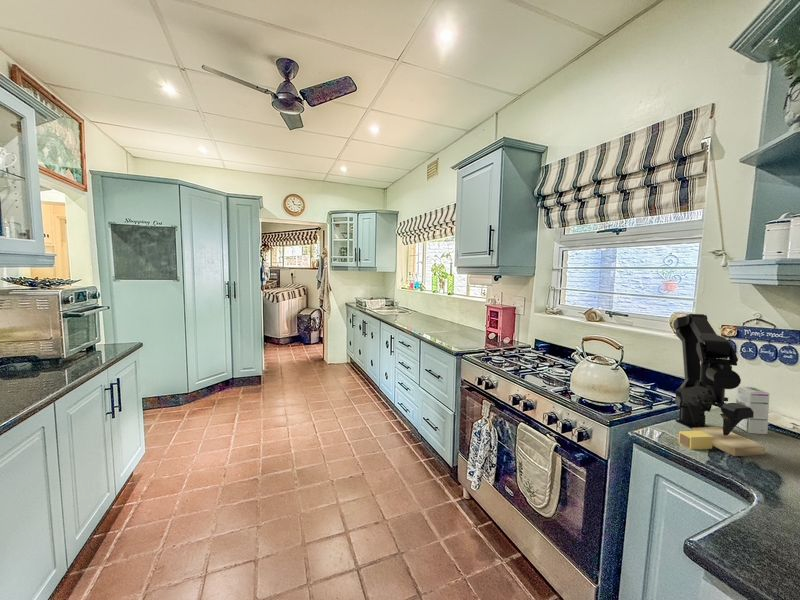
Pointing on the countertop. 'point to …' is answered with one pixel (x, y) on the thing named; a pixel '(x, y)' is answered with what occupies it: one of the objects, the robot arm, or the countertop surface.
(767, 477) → the countertop surface
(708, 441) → the mustard block
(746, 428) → the syrup box
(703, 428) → the cutting board
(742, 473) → the countertop surface
